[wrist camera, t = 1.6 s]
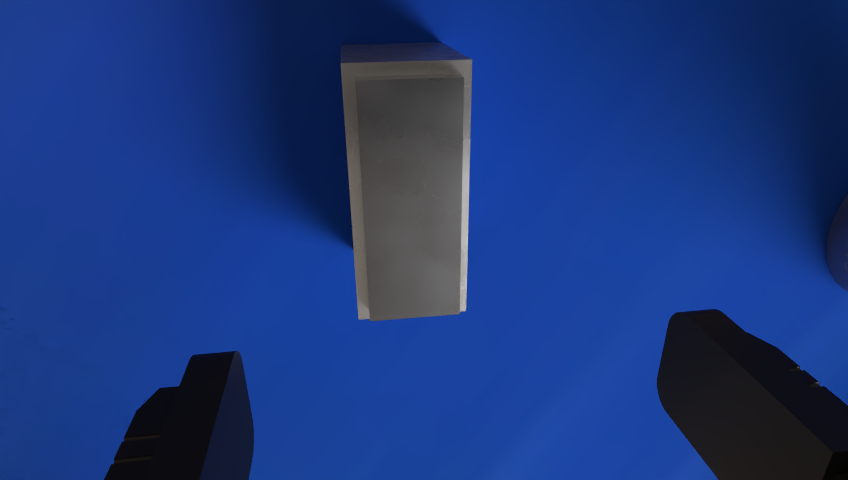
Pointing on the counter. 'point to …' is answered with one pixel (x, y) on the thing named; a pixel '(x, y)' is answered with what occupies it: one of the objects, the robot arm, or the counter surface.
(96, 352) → the counter surface
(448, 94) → the block
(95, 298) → the counter surface
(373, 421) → the counter surface
